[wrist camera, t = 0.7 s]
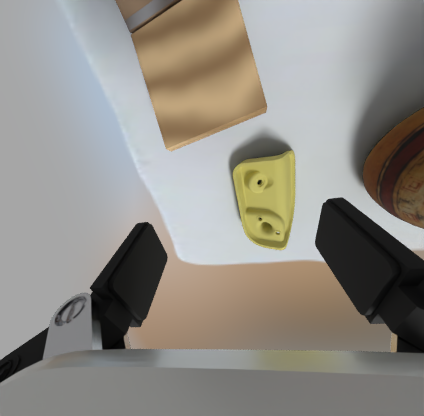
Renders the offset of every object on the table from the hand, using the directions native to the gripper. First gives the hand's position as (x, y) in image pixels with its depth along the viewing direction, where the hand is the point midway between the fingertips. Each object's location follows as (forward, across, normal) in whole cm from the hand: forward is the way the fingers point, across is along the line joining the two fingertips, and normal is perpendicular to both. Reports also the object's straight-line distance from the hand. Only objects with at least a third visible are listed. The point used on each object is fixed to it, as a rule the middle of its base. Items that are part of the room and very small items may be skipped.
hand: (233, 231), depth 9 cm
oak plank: (+21, +2, -10) cm, 23 cm away
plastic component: (+26, -6, +13) cm, 29 cm away
